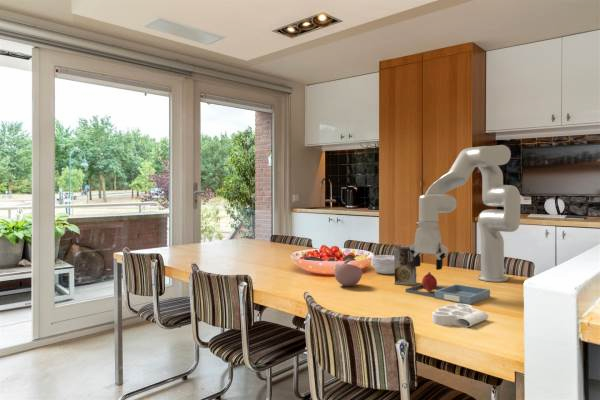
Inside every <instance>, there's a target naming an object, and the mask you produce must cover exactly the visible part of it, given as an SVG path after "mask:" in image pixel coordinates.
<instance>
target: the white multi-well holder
mask: <svg viewBox="0 0 600 400" xmlns="http://www.w3.org/2000/svg"><path fill="white" fill-rule="evenodd" d="M431 314H432V320H431V321H432V323H433V324H435V325H438V326H459V327H461V328H467V329H468V328H470V327H472V326H475V325H476V324H480V323H481V322H483V321H486V320H488V319H489V314H488V313H487V312H486V311H483V310H480V309H476V308H473V306H472V304H471V305H468V304H462V303H455V304H449V305H448V304H447V305H443V306H442V307H437V308H436V309H435V311H432V312H431Z"/></svg>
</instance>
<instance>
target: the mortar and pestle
mask: <svg viewBox="0 0 600 400" xmlns="http://www.w3.org/2000/svg"><path fill="white" fill-rule="evenodd" d="M350 262H351V259H350V258H349V259H347V260H345V261H344V262H343V263H337V264H336V265H335V266H334V271H333V272H334V273H333V274H334V278H335V280H336V281H337V283H339V284H340V285H342V286H345V287H354V286H355V285H358V284H359V282H360V281H361V279H362V276H363V270H362V269H363V268H361V267H359V266H357V265H354V264H351V263H350Z"/></svg>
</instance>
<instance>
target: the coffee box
mask: <svg viewBox="0 0 600 400" xmlns="http://www.w3.org/2000/svg"><path fill="white" fill-rule="evenodd" d="M393 256H394V271H395V273H394V285H405V286H409V285H410V286H417V285H416V284H417V267H415V264H414V256H413V254H412V253H411V250H410V248H409V245H408V246H406V245H405V246H404V245H403V246H402V245H401V246H400V245H397V246H396V245H395V246H394V248H393Z"/></svg>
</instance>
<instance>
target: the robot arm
mask: <svg viewBox="0 0 600 400" xmlns="http://www.w3.org/2000/svg"><path fill="white" fill-rule="evenodd" d="M511 153H512V152H511V150H510V147H508V146H507V145H505V144H499V145H481V146H475V147H473V146H472V147H466V148H463V149H462V150H461V151H460V152H459V154H458V155H457V157H456V158H455V161H454V162H453V164H452V165H451V167H450V169H449V170H448V171H447V173H445V174H444V175H442V176H441V177H440V178H438V179H437V180H436V181H434V182H433V183H432V184H431V185H430V186H429V187H428V189H427V190H426V192H425V194H421V195H420V196H419V198H418V221H416V226H418V227H417V228H416V231H415V235H414V242H413V243H411V244H410V245H408V246H409V248H410V250H411V253H412V254H413V256H414V264H415V267H416V268H417V267H421V256H420V255H421V254H423V255H435V257H436V260H435V268H436V270H437V271H440V270H442V269H443V260H444V259H445V257H447V254H448V253H449V251H450V249H449V248H448V247H446V246H445V245H443V243H442V236H441V231H440V229H439V213H440V214H444V213H445V214H447V213H448V214H449V213H451V212H453V211H455V209H456V208H457V204H458V202H457V199H456V198H455V197H454V196H453V195H452V194H448V192H450V191H451V190H454V189H457V188H459V187H462V186H463V185H465V184H466V183H467V182H468V180H469V178H470V177H471V175H472V174H473V172H474V170H475V169H476V168H478V170H479V171H480V173H481V177H482V179H481V180H482V181H481V182H482V186H481V187H482V188H481V189H482V191H481V192H482V193H481V194H482V195H481V199H482V203H483V205H485V206H487V207H496V208H497V207H502V208H503V209H495V208H494V209H491V208H490V209H484V210H482V211H481V212H480V213H479V214H478V216H477V221H478V227H479V233H480V274H478V275H477V279H478V280H481V281H484V282H492V283H501V282H507V281H508V280H509V279H508V276H505V273H506V272H507V270H506V268H505V241H504V240H505V239H504V237H503V235H502V233H503V232H504V233H506V232H507V233H513V232H516V231H517V230H518V229H519V228H520V224H521V201H522V200H521V192H520V191H519V189H518V187H516V186H515V185H512V184H509V185H508V184H504V175H503V171H502V170H501V168H500V166H503V165H506V164H508V163H509V161H510V159H511V155H512V154H511ZM446 193H447V194H446ZM501 232H502V233H501Z"/></svg>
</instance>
